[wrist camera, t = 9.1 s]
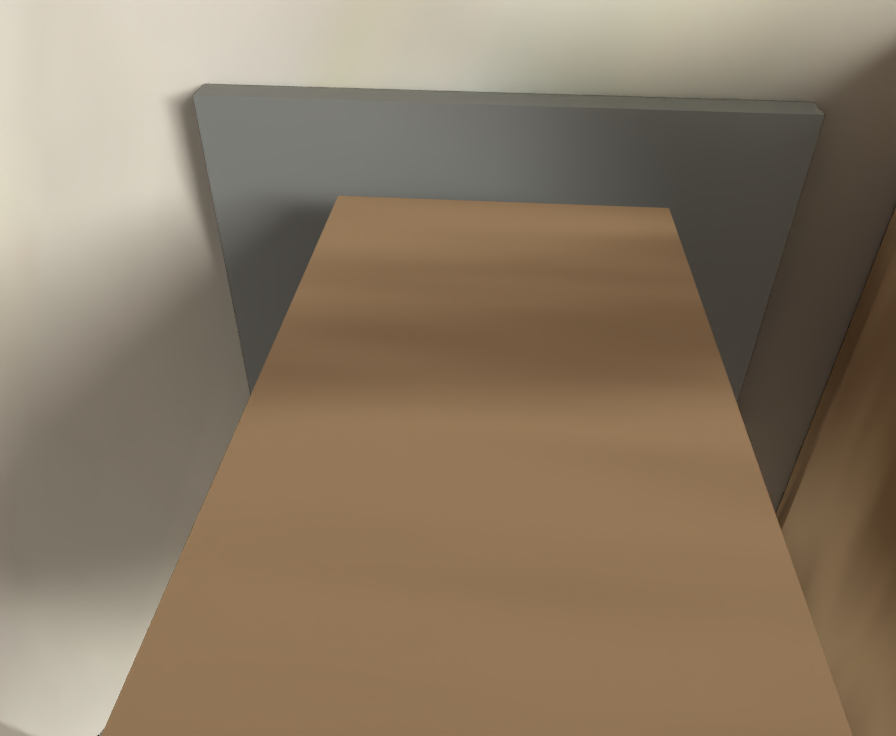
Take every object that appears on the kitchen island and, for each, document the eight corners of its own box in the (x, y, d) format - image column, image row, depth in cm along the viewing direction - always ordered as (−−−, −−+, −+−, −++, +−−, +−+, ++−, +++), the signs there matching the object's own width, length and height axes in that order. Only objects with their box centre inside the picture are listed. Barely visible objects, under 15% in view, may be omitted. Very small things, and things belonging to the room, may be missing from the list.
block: (338, 195, 12) (-35, 1049, 4) (668, 208, 12) (1000, 1154, 4) (368, 539, 17) (229, 1230, 9) (601, 554, 16) (677, 1281, 8)
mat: (204, 83, 13) (192, 95, 12) (813, 102, 12) (824, 115, 12) (279, 496, 19) (273, 514, 19) (690, 521, 18) (695, 540, 18)
